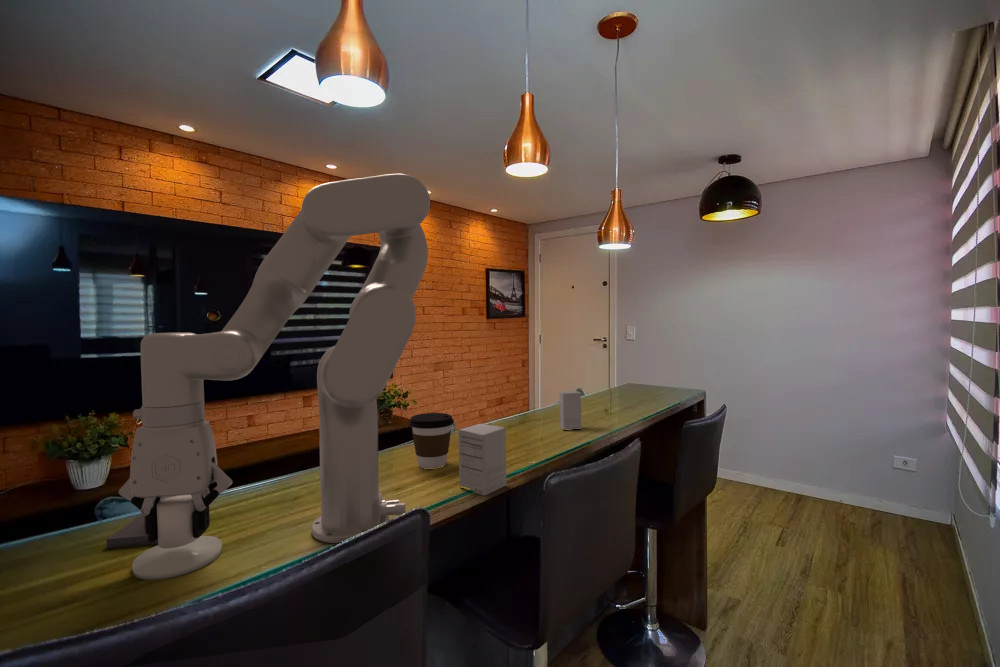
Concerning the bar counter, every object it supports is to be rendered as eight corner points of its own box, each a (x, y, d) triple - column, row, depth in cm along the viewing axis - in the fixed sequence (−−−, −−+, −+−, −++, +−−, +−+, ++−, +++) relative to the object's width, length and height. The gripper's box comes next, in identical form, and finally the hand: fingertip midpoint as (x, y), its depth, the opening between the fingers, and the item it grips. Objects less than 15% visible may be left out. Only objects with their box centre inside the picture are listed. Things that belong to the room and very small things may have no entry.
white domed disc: (233, 538, 76) (232, 532, 76) (203, 574, 65) (202, 567, 65) (158, 545, 74) (157, 539, 74) (114, 583, 63) (114, 576, 63)
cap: (189, 546, 67) (188, 505, 67) (151, 550, 66) (149, 509, 66) (206, 528, 73) (205, 491, 73) (171, 531, 72) (170, 493, 72)
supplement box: (481, 478, 103) (480, 422, 103) (507, 486, 99) (506, 427, 98) (458, 488, 98) (457, 428, 97) (484, 496, 93) (483, 434, 92)
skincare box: (577, 427, 151) (577, 390, 151) (582, 430, 147) (581, 392, 147) (559, 428, 150) (558, 391, 150) (563, 431, 146) (563, 393, 146)
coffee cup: (456, 458, 119) (455, 412, 118) (453, 472, 108) (452, 421, 107) (413, 459, 118) (412, 412, 118) (405, 473, 107) (404, 422, 107)
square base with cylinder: (204, 516, 85) (203, 478, 84) (177, 542, 75) (175, 499, 75) (143, 521, 83) (141, 482, 83) (106, 548, 73) (105, 504, 73)
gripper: (91, 424, 64) (96, 554, 64) (227, 417, 67) (231, 542, 67) (125, 413, 71) (129, 530, 72) (246, 408, 74) (249, 520, 75)
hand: (178, 534), depth 69 cm, fingers open, 5 cm apart
